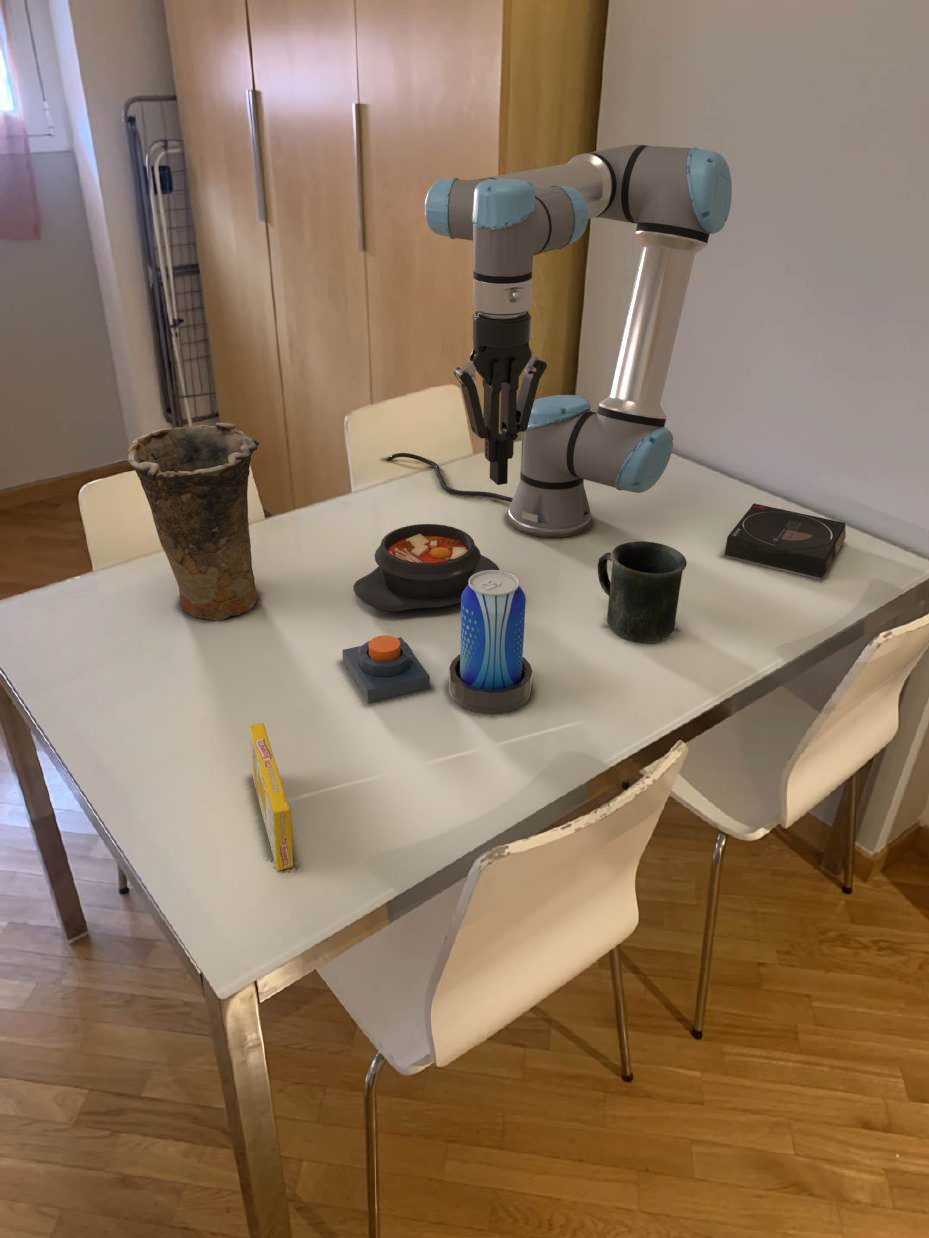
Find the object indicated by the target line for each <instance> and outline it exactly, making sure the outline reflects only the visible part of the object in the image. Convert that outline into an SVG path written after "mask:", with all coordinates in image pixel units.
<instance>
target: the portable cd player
mask: <svg viewBox="0 0 929 1238" xmlns="http://www.w3.org/2000/svg"><path fill="white" fill-rule="evenodd" d="M846 535H847V531H846V522H843V521H838V520H833V519H829V518H823V517H820V516H815V515H810V514H804V513H801V512H797V511H792V510H787V509H782V508H778V507H773V506H770V505H769V506H768V505H764V504H759V503H755V502H754V503H753V504H752V505H751V506H750V507H749V509H748V510H747V511H746V512H745V514H744V515H743V516H742V518H741V519H740V520H739V521H738V523H737V524H736V525H735V526H734V527H733V529H732V530H731V531H730V533H729V534H728V535H727V538H726V545H725V549H724V554H723V555H724V558H727V559H732V560H736V561H740V562H744V563H747V564H753V565H757V566H759V567H765V568H769V569H774V570H778V571H781V572H786V573H790V574H794V575H798V576H802V577H806V578H810V579H813V580H814V579H815V580H819V581H821V580H822V579H823V578H824V577H825V575H826V574H827V572H828V570H829V569H830V568H831V565H832V563H833V562H834V560H835V558H836V556H837V554H838V552H839V550H840V549H841V547H842V545H843V543H844V542H845V540H846V538H847V536H846Z"/></svg>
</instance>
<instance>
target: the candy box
mask: <svg viewBox="0 0 929 1238" xmlns="http://www.w3.org/2000/svg"><path fill="white" fill-rule="evenodd" d="M266 729H267V728H266V726H265V723H264V722H258V723H253V724H249V742H250V753H251V767H252V778H253V785H254V787H255V792H256V796H257V800H258V804H259V807H260V811H261V816H262V820H263V823H264V827H265V831H266V835H267V838H268V841H269V845H270V850H271V854H272V858H273V862H274V865H275V868H276V871H282V870H286V869H290V868H293V865H294V855H293V829H292V812H291V809H290V806H289V802H288V800H287V796H286V793H285V790H284V787H283V783H282V780H281V776H280V773H279V769H278V766H277V763H276V760H275V756H274V753H273V750H272V747H271V743H270V740H269V736H268V733H267V730H266Z"/></svg>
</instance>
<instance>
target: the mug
mask: <svg viewBox="0 0 929 1238" xmlns="http://www.w3.org/2000/svg"><path fill="white" fill-rule="evenodd" d="M608 561H610V562H612V566H611V574H610V575H611V576H609V571H608ZM687 563H688V562H687V559H686V557H685V556H684V555H683V553H681V552H680V551H679V550H677V549H676V548H674V547H672V546H669V545H665V544H663V543H659V542H653V541H646V540H645V541H643V540H641V541H640V540H639V541H627V542H624V543H621V544H619V545H617V546H615V547H613V549H612V550H611V551H610V552H606V553H604V554H602V555H601V556H600V557H599V558H598V562H597V576H598V582H599V585H600V586H601V589H602V591H603V592H604V593H605V594H606V596H608V605H607V613H606V623H607V625H608V627H609V628H610V630H611V631H612V633H614V634H615V635H617V636H619V637H620V638H622V639H625V640H628V641H632V642H636V643H644V644H645V643H657V642H661V641H664V640H666V639H667V638H669V637H670V636H671V635H672V634H673V633H674V631H675V626H676V619H677V613H678V604H679V599H680V591H681V584H682V577H683V571H685V569H686V567H687Z"/></svg>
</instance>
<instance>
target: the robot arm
mask: <svg viewBox="0 0 929 1238" xmlns="http://www.w3.org/2000/svg"><path fill="white" fill-rule="evenodd" d="M732 184H733V183H732V176H731V171H730V167H729V164H728V162H727V160H726V159H725V157H724V156H723V154H721V153H719V152H718V151H713V150H708V149H702V148H697V147H679V146H678V147H677V146H659V145H646V144H625V145H619V146H614V147H609V148H604V149H600V150H595V151H591V152H585V153H580V154H577V155H575V156H573V157H572V158H571V159H569V160H568V161H567V162H566V163H563V164H557V165H550V166H545V167H539V168H535V169H527V170H522V171H515V172H510V173H505V174H499V175H492V176H488V177H480V178H473V179H460V178H458V177H453V178H440V179H437V180H436V181H434V182H433V184H431V186H430V187H429V189H428V191H427V194H426V197H425V201H424V206H425V207H424V215H425V221H426V223H427V226H428V227H429V229H430V231H432V232H433V233H434V234H436V235H438V236H441V237H445V238H446V237H447V238H449V239H450V240H455V239H457V240H466V241H473V243H472V244H473V269H472V275H473V276H472V308H473V310H475V312H474V313H473V315H472V343H473V344H472V350H471V353H470V355H469V361H468V362H467V363H465V364H464V365H463V366H462V367H458V366H457V367H455V368H454V369H453V376H455V378H456V379H457V380H458V382H459V384H460V387H461V391H462V395H463V396H462V397H463V399H464V405H465V408H466V412H467V416H468V421H469V425H470V430H471V432H472V433H473V434H474V435H476V436H477V437H478V438H480V439H481V440H482V439H484V457H485V460H487V461H488V462H489V479H490V480H491V481H492V482H493V483H494V484H496V485H497V486H500V485H501V486H502V485H507V484H508V479H509V478H508V475H509V474H508V472H509V460H510V459H513V457H514V447H515V443H514V442H515V441H516V440H517V439H518V438H519V435H518V434H519V433H521V443H520V444H521V445H520V448H521V449H520V472H519V473H520V475H519V482H518V484H517V486H516V490H515V492H514V494H513V497H511V496H506V495H502V494H500V493H499V494H498V493H495V492H489V491H476V490H459V489H454V488H452V487H449V486H448V485H446V482H445V479H444V477H443V475H442V473H441V470H440V466H439V465H438V464H437V463H436V462H435V461H433V460H430V459H428V458H426V457H423V456H420V455H417V454H413V453H410V452H396V453H393V454H391V455H392V457H390V456H391V455H389V456H388V457H387V458H386V459H385V461H386V462H391V461H392V460H395V459H397V458H408V459H413V460H416V461H419V462H422V463H425V464H427V465H430V466H431V467H433V468H434V469H435V470H434V471H435V475H436V477H437V479H438V481H439V484H440V487H441V488H442V489H443V490H444V491H445V492H447V493H449V494H452V495H457V496H468V497H486V498H493V499H496V500H500V501H504V502H509V503H510V504H509V508H508V522H509V524H510V525H511V526H512V527H513V528H515V529H516V530H518V531H520V532H521V533H525V534H527V535H532V536H535V537H543V538H563V537H564V538H565V537H571V536H575V535H578V534H581V533H582V532H584V531H585V530H587V529H588V528H589V527H590V525H591V516H592V512H591V507H590V503H589V500H588V496H587V491H586V489H585V483H584V481H589V482H593V483H596V484H600V485H604V486H608V487H611V488H614V489H616V490H617V491H619V492H620V491H626V492H630V493H635V494H641V493H645V492H648V491H649V490H650V489H652V488H653V486H655V485H656V484H657V482H658V481H659V480H660V478H661V477H662V475H663V474H664V472H665V470H666V468H667V466H668V464H669V461H670V459H671V456H672V452H673V449H674V442H673V441H674V435H673V433H672V431H671V430H669V428H668V427H665V426H666V421H667V414H666V412H665V411H664V410H663V408H662V405H661V403H662V398H663V394H664V391H665V387H666V381H667V376H668V373H669V368H670V364H671V360H672V355H673V351H674V347H675V342H676V338H677V335H678V330H679V326H680V321H681V317H682V313H683V308H684V304H685V300H686V295H687V292H688V287H689V283H690V279H691V274H692V269H693V265H694V260H695V257H696V255H697V254H699V253H700V252H702V251H703V250H704V249H705V248H707V246H708V244H709V239H710V235H714V234H717V233H719V232H721V231H722V230H723V229H724V227H725V225H726V222H727V221H728V218H729V215H730V211H731V205H732V198H733V197H732V196H733V185H732ZM595 218H597V219H598V218H599V219H600V218H601V219H606V220H611V221H618V222H624V223H630V224H636V230H635V234H634V235H635V236H636V238H637V240H638V242H639V243H640V245H641V249H640V254H639V260H638V264H637V268H636V269H637V270H636V272H635V277H634V282H633V286H632V290H631V296H630V301H629V305H628V309H627V315H626V320H625V324H624V329H623V333H622V338H621V341H620V342H621V343H620V346H619V352H618V357H617V361H616V366H615V370H614V374H613V379H612V384H611V389H610V393H609V395H608V396H607V397H606V398H605V399H603V400H602V401H600V402H598V407H597V412H595V411H592V410H591V409H592V405H591V401H590V400H589V399H588V398H586V397H585V396H581V395H577V394H576V395H575V394H557V395H549V396H544V397H540V398H537V399H536V395H537V390H538V387H539V383H540V380H541V378H542V376H543V374H544V373H545V371H546V370H547V367H548V364H547V362H546V361H544V360H542V359H541V358H540V357H537V356H533V352H532V348H531V347H530V340H531V324H532V323H531V322H532V315H531V314H530V312H528V311H529V310H531V309H532V292H533V291H532V289H533V288H532V287H533V263H534V256H537V255H541V254H544V253H545V254H546V253H548V252H551V251H556V250H561V249H565V248H566V247H568V246H570V245H571V244H574V243H576V242H577V241H578V240H579V239H581V237H582V236H583V235H584V233H585V232H586V229H587V227H588V223H589V219H595ZM523 371H524V373H523ZM476 372H477V373H478V375H479V377H481V379H482V387H483V410H482V405H481V400H480V397H479V396H480V395H479V393H478V389H477V385H476V383H475V381H476ZM522 373H523V374H522ZM521 375H522V380H521V384H520V379H519V378H520V376H521ZM519 385H520V386H519ZM519 387H520V388H519ZM518 390H519V392H518ZM436 466H437V467H436Z"/></svg>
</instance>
